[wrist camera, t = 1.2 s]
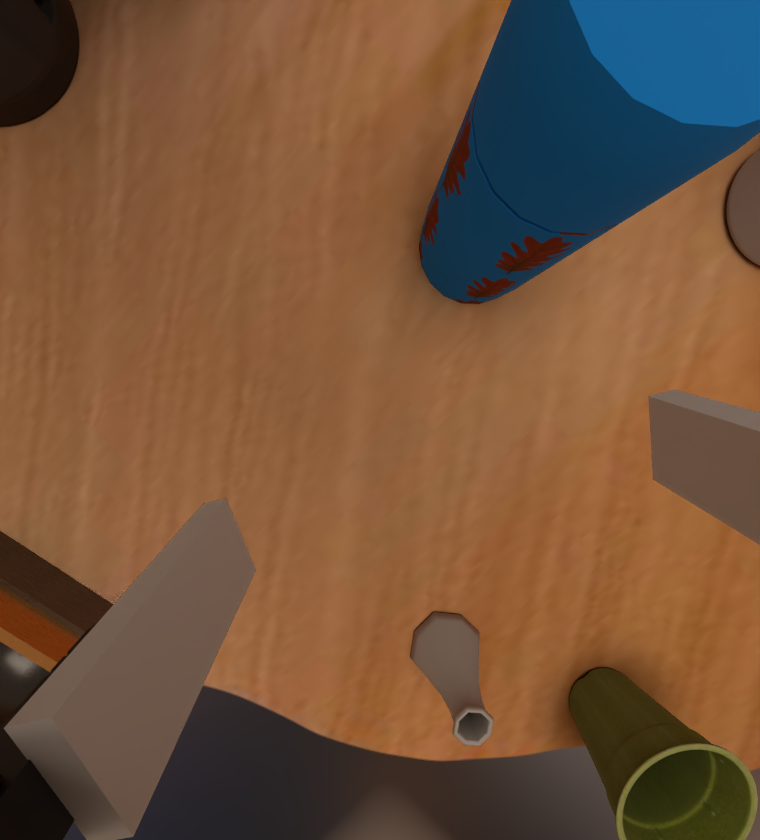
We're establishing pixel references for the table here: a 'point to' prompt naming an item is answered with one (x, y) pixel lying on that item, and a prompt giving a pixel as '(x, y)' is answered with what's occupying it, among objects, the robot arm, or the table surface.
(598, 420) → the table surface
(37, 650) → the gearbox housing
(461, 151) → the thermos
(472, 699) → the flask
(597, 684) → the plant pot
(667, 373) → the table surface
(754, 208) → the cylinder vase
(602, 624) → the table surface
